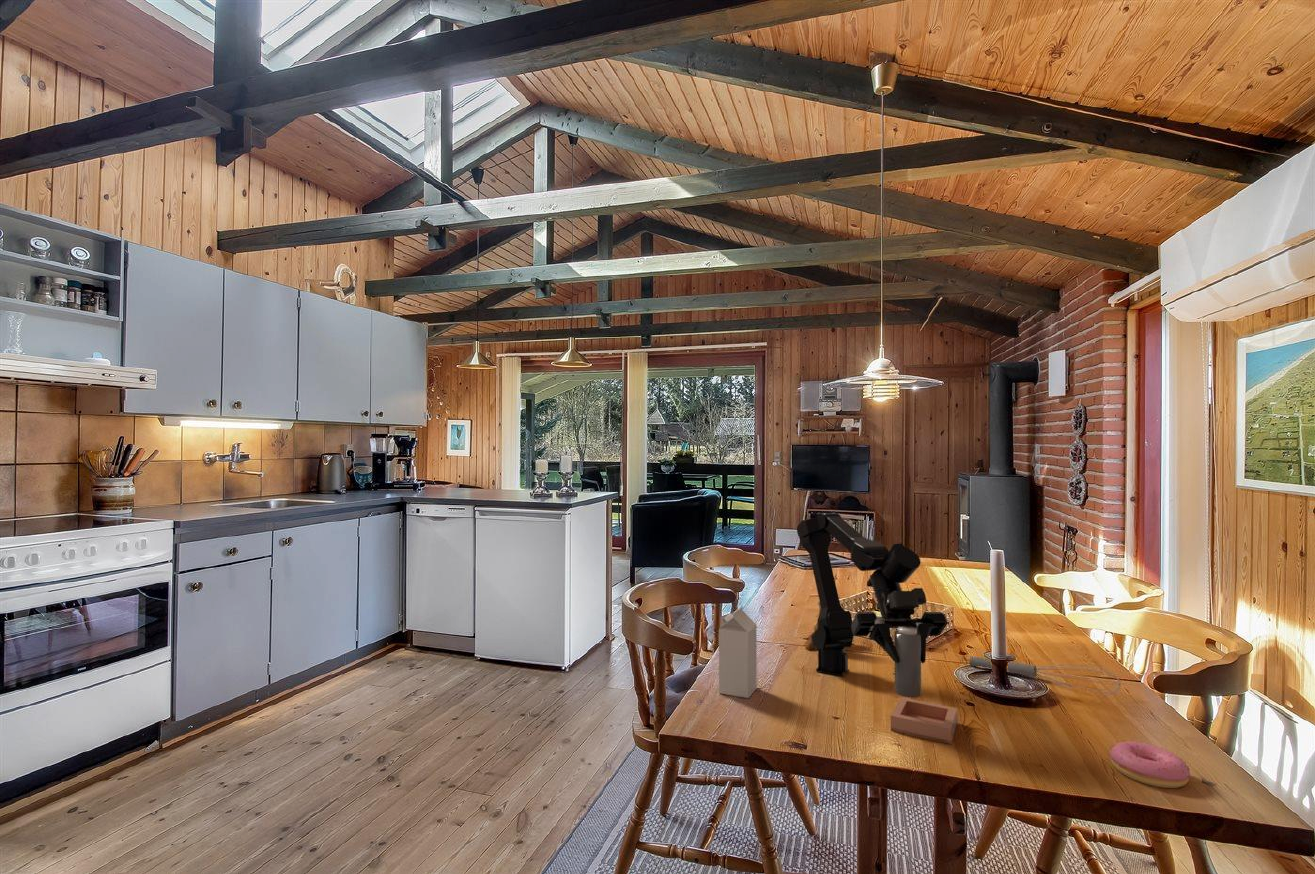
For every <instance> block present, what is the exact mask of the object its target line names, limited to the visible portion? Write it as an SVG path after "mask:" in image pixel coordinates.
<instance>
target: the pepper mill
mask: <svg viewBox="0 0 1315 874" xmlns="http://www.w3.org/2000/svg"><path fill="white" fill-rule="evenodd" d="M894 646H895V649H896V651H897V654H898V659H899V662H898V663H895V662H894V693H896V694H897V695H899V696H900V697H904V698H909V699H913V698H914V699H915V698H919V697H922V662H921V634H920V633H918V632H917V629H916V628H914V627H910V626H899V627H898V628H897V630H895V631H894Z"/></svg>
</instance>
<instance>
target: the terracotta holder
mask: <svg viewBox="0 0 1315 874" xmlns="http://www.w3.org/2000/svg"><path fill="white" fill-rule="evenodd" d="M957 726H958V708H956V707H953V706H948V705H943V704H937V703H932V702H928V701H924V700H917V699H915V698H914V699H913V698H910V697H904V696H900V697H899V699H898V701H897V703H896V705H895V707H894V709H893V710H892V713H891V714H890V731H891V732H893V733H894V732H895V733H899V734H902V735H903V734H904V735H907V736H913V737H915V738H916V737H917V738H920V739H921V738H922V739H924V740H929V741H934V742H938V743H942V744H946V743H948V744H947V745H952V744H951V743H953V739H954V737H955V733H956V729H957Z"/></svg>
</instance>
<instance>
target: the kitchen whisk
mask: <svg viewBox="0 0 1315 874" xmlns="http://www.w3.org/2000/svg"><path fill="white" fill-rule="evenodd" d="M966 657H968V655H967V656H963V657H962V659H961V662H962V664H964V665H965V666H967V664H966V663H964V661H963V660H964V658H966ZM990 659H991V658H986V657H980V656H972V655H971V656H969V666H971V667H972V666H973V667H974V666H982V667H989V668H991V661H990ZM1008 662H1009V664H1008V670H1009V672H1010V673H1009V674H1014V673H1018V674H1017V675H1020V674H1022V675H1021V676H1027V677H1034V678H1036V677H1040V678H1042V679H1045V680H1046V681H1049V682H1052V683H1053V684H1057V685H1059V686H1061V687H1065V688H1067V689H1070V690H1072V688H1071V687H1078V688H1082V689H1087V690H1090V688H1088V687H1083V686H1080V685H1074V684H1072V683H1068V682H1063V681H1061V680H1057V679H1054V678H1051V677H1047V676H1046V675H1048V674H1049V675H1051V676H1056V677H1062V678H1065V676H1066V678H1068V679H1071V677H1072V679H1073V680H1079V681H1085V682H1090V683H1091V682H1092V683H1095V681H1093V680H1095V678H1093V677H1088V676H1087V677H1086V676H1079V675H1075V677H1074V675H1071V674H1068V676H1069V677H1068V676H1067V674H1065V673H1061V675H1060V674H1059V673H1058V672H1057V673H1056V672H1053V673H1051V672H1048V671H1045V670H1046V668H1047V669H1063V670H1066V671H1068V670H1069V671H1070V670H1071V671H1079V669H1083V671H1086V672H1091V670H1092V672H1096V673H1098V671H1099V673H1100V674H1106V675H1109V676H1112V677H1114V678H1115V679H1116V680H1117V681H1118V682H1115V681H1111V680H1110V681H1109V680H1106V679H1102V681H1104V682H1103V684H1104V685H1105V684H1107V685H1109V683H1106V682H1110V685H1113V686H1117V687H1118V688H1115V689H1112V690H1111V689H1110V690H1108V689H1107V690H1103V689H1097V691H1100V692H1101V693H1102V694H1100V696H1102V697H1109V696H1112V695H1115V694H1116V693H1117V692H1118V691H1119V690H1120V687H1121V685H1122V683H1121V680H1120V679H1119V677H1118V676H1117V675H1116V674H1115V673H1114V672H1113V671H1111V670H1109V669H1107V668H1104V667H1101V666H1096V665H1093V667H1096V668H1094V670H1093V668H1091V667H1092V665H1090V664H1085V666H1086V667H1087V666H1088V667H1087V669H1084V667H1083V666H1082V667H1081V666H1080V667H1079V666H1070V668H1063V667H1065V664H1058V665H1055V666H1052V665H1047V666H1045V668H1044V666H1039V667H1037V666H1036V665H1033V664H1027V663H1018V662H1013V661H1008ZM1097 668H1099V669H1097ZM1088 669H1089V670H1088ZM1101 669H1104V670H1101ZM1041 670H1044V671H1045V672H1043V671H1041ZM1105 670H1106V671H1105ZM1108 671H1109V672H1108ZM1040 673H1041V674H1040ZM1043 674H1045V675H1043ZM1076 677H1077V678H1076ZM1078 677H1079V678H1078ZM1080 678H1081V679H1080ZM1082 678H1084V679H1082ZM1088 679H1092V680H1088ZM1097 680H1098V681H1097ZM1099 681H1100V682H1099ZM1096 683H1097V684H1098V683H1099V684H1102V682H1101V679H1100V678H1096ZM1068 686H1069V687H1068ZM1091 690H1092V691H1096V689H1095V688H1091ZM1111 693H1112V694H1111ZM1104 694H1105V695H1104Z"/></svg>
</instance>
